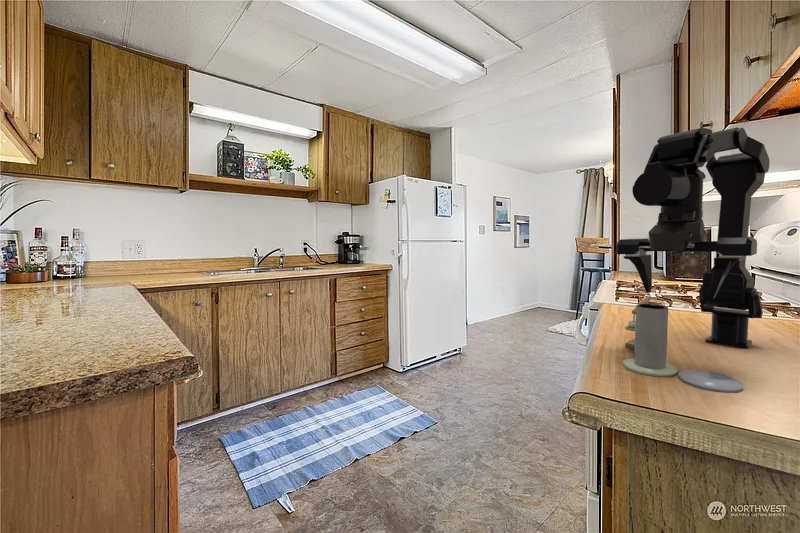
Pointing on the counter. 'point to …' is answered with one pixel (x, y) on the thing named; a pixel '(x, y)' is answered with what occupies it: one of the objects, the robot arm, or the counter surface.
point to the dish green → (665, 372)
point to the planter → (651, 336)
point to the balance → (631, 324)
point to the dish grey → (711, 381)
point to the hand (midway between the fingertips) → (678, 295)
